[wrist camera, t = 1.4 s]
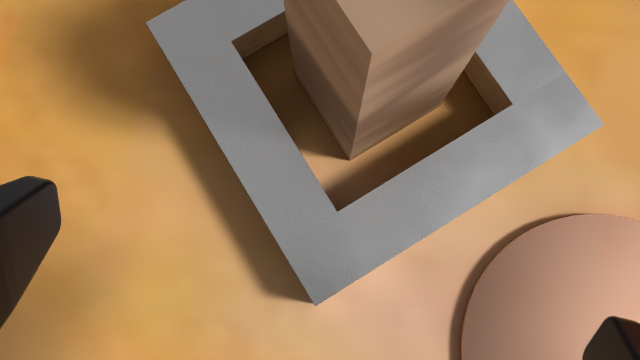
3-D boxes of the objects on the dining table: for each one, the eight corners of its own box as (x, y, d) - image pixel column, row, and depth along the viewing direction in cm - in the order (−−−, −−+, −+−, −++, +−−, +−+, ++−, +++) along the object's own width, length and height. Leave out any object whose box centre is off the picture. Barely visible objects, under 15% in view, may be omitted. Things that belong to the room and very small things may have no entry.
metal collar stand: (315, 304, 22) (315, 306, 20) (160, 43, 24) (145, 22, 22) (580, 138, 23) (604, 124, 21) (410, -98, 25) (417, -129, 23)
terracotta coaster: (571, 570, 20) (576, 576, 20) (406, 307, 22) (408, 308, 22) (804, 404, 21) (813, 407, 21) (628, 165, 23) (634, 163, 23)
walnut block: (349, 160, 23) (371, 54, 12) (294, 73, 24) (268, -100, 13) (439, 106, 23) (537, -44, 13) (382, 22, 24) (428, -188, 13)
